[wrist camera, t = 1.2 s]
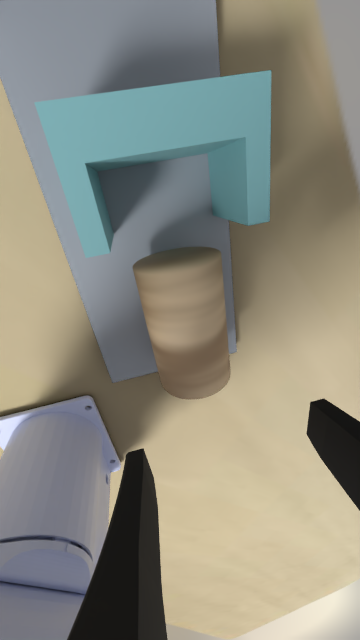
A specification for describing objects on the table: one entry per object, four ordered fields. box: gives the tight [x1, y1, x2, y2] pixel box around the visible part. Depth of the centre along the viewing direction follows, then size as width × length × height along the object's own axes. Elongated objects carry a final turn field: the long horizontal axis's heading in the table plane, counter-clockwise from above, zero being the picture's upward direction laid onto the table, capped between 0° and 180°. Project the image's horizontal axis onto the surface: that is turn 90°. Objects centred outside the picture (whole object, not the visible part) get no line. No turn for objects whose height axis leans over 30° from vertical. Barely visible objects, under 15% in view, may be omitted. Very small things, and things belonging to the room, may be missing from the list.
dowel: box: [133, 247, 230, 399], centre depth 16 cm, size 8×5×5 cm, turn 9°
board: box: [0, 0, 237, 383], centre depth 16 cm, size 20×10×1 cm, turn 9°
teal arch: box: [34, 70, 271, 258], centre depth 12 cm, size 5×8×5 cm, turn 99°
